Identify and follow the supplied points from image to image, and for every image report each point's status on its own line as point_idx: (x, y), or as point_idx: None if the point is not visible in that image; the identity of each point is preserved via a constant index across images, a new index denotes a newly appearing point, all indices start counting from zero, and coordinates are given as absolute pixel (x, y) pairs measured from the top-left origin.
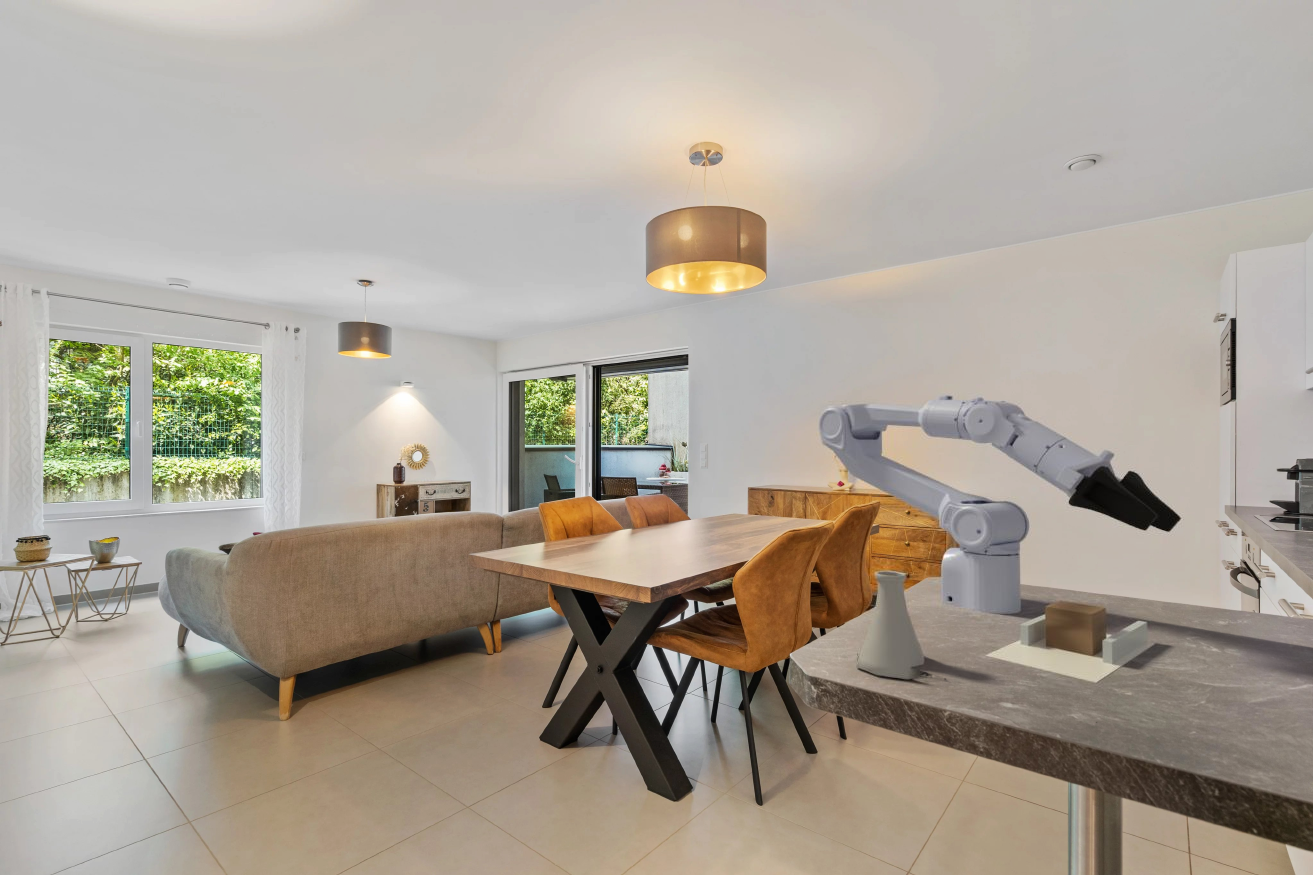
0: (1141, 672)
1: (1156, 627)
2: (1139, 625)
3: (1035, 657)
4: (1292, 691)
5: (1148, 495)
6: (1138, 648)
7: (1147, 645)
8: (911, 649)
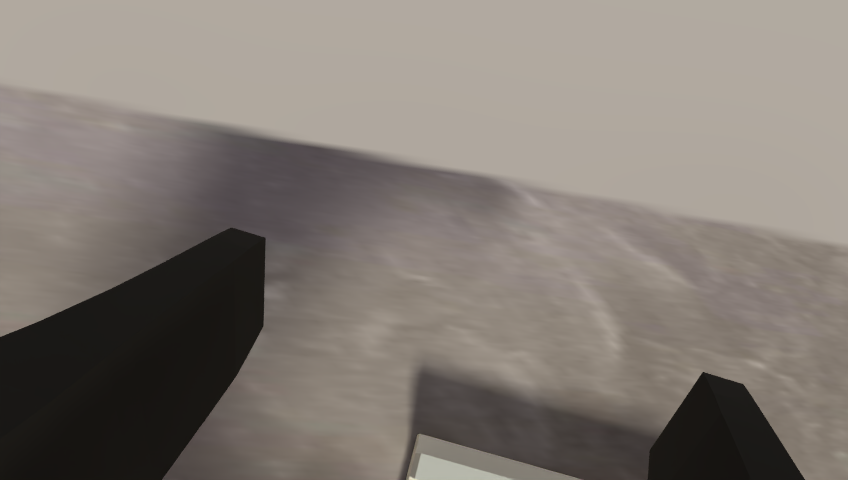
0: (625, 472)
1: None
2: (486, 476)
3: None
4: (556, 203)
5: (82, 401)
6: (512, 478)
7: (461, 454)
8: None
